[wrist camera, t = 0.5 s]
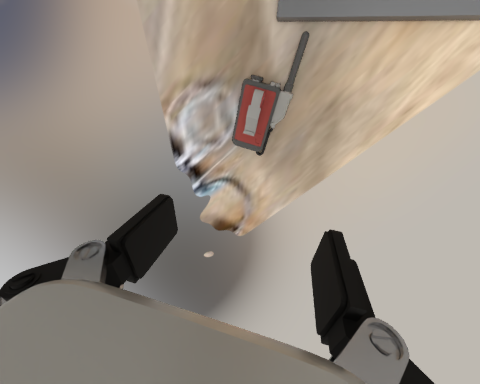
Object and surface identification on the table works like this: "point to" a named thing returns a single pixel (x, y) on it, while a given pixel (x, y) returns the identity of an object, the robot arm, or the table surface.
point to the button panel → (377, 10)
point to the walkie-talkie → (263, 106)
